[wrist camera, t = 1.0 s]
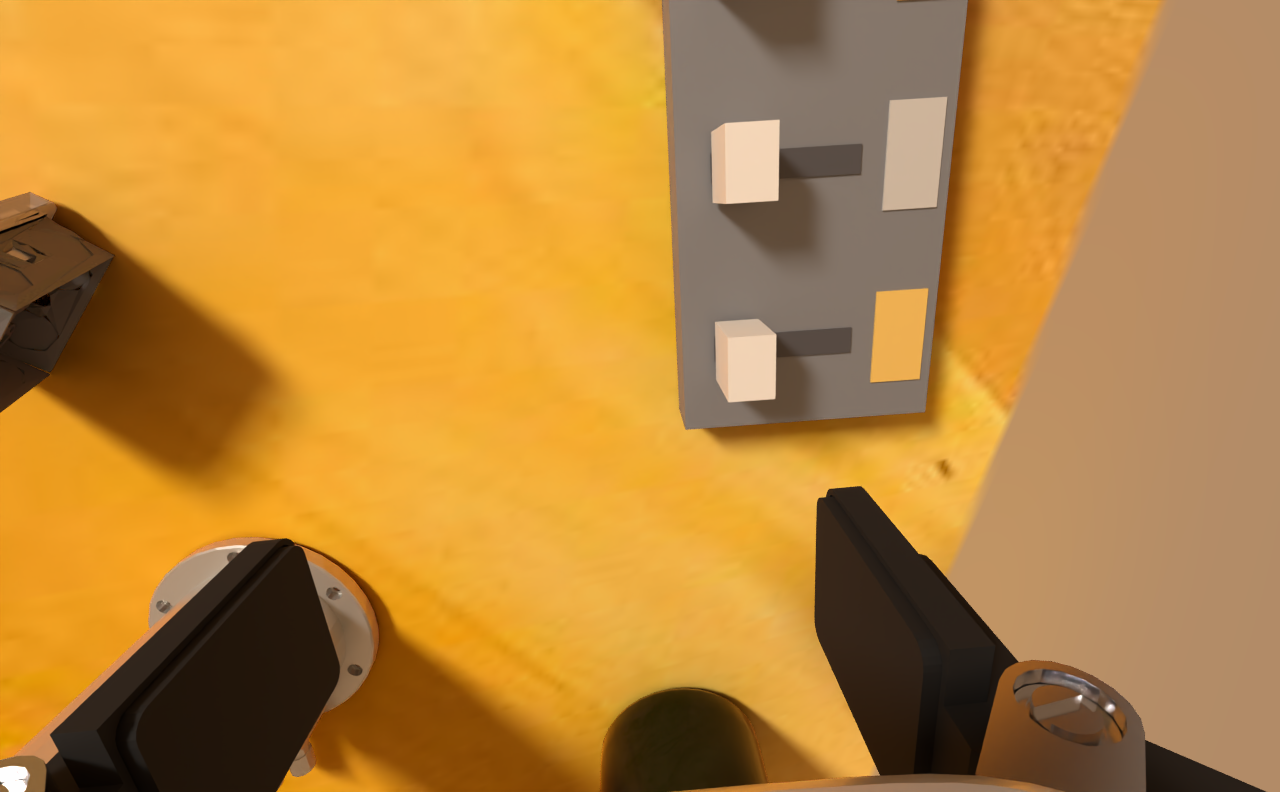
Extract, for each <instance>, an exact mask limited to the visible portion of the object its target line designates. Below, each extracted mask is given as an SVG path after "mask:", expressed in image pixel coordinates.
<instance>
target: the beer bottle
mask: <svg viewBox="0 0 1280 792" xmlns="http://www.w3.org/2000/svg"><path fill="white" fill-rule="evenodd" d="M766 783H769V781H768V777H767V773H766V769H765V765H764V761H763V757H762V754H761V750H760V746H759V743H758V740H757V736H756V733H755V730H754V728H753V726H752V724H751V722H750V720H749V719H748V717H747V716H746V715H745V714H744V713H743V712H742V711H741V710H740V709H739V708H738V707H737V706H736V705H735V704H733V703H732V702H730V701H729V700H727V699H726V698H724V697H722V696H719V695H717V694H715V693H712V692H708V691H704V690H700V689H688V688H680V689H668V690H664V691H660V692H656V693H653V694H650V695H648V696H645V697H643V698H640V699H639V700H637V701H636V702H634V703H632V704H631V705H629V706H628V707H627V708H626V709H625V710H623V711H622V712H621V713H620V714H619V715H618V716H617V718H616V719H615V720H614V722H613V723H612V725H611V726H610V728H609V729H608V731H607V734H606V736H605V738H604V741H603V747H602V755H601V770H600V792H676V791H687V790H698V789H709V788H720V787H731V786H742V785H754V784H766Z"/></svg>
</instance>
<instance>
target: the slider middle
mask: <svg viewBox="0 0 1280 792" xmlns="http://www.w3.org/2000/svg"><path fill="white" fill-rule="evenodd" d="M779 126H780V120H766V121H750V122H734V123H724V124H723V125H721V126H720V127H718V128H717V129H715V130H713V131H712V132H711V148H712V198H713V203H720V204H734V203H749V202H764V201H778V193H779Z"/></svg>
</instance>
